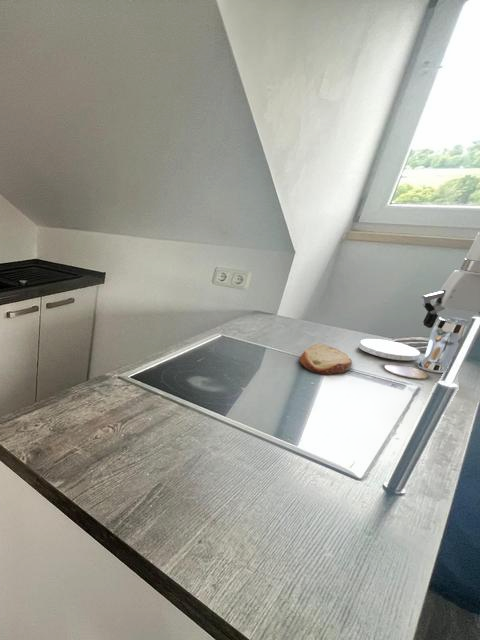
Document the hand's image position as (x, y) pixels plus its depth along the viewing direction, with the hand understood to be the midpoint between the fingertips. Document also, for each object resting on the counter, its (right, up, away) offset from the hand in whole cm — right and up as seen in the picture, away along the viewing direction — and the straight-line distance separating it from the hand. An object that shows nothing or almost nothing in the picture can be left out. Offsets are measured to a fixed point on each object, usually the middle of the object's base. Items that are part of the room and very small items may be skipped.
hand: (450, 329), depth 108 cm
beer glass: (+1, -11, +5) cm, 13 cm away
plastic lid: (-3, -7, +15) cm, 17 cm away
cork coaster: (-9, -12, +3) cm, 16 cm away
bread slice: (-28, -9, +10) cm, 31 cm away
